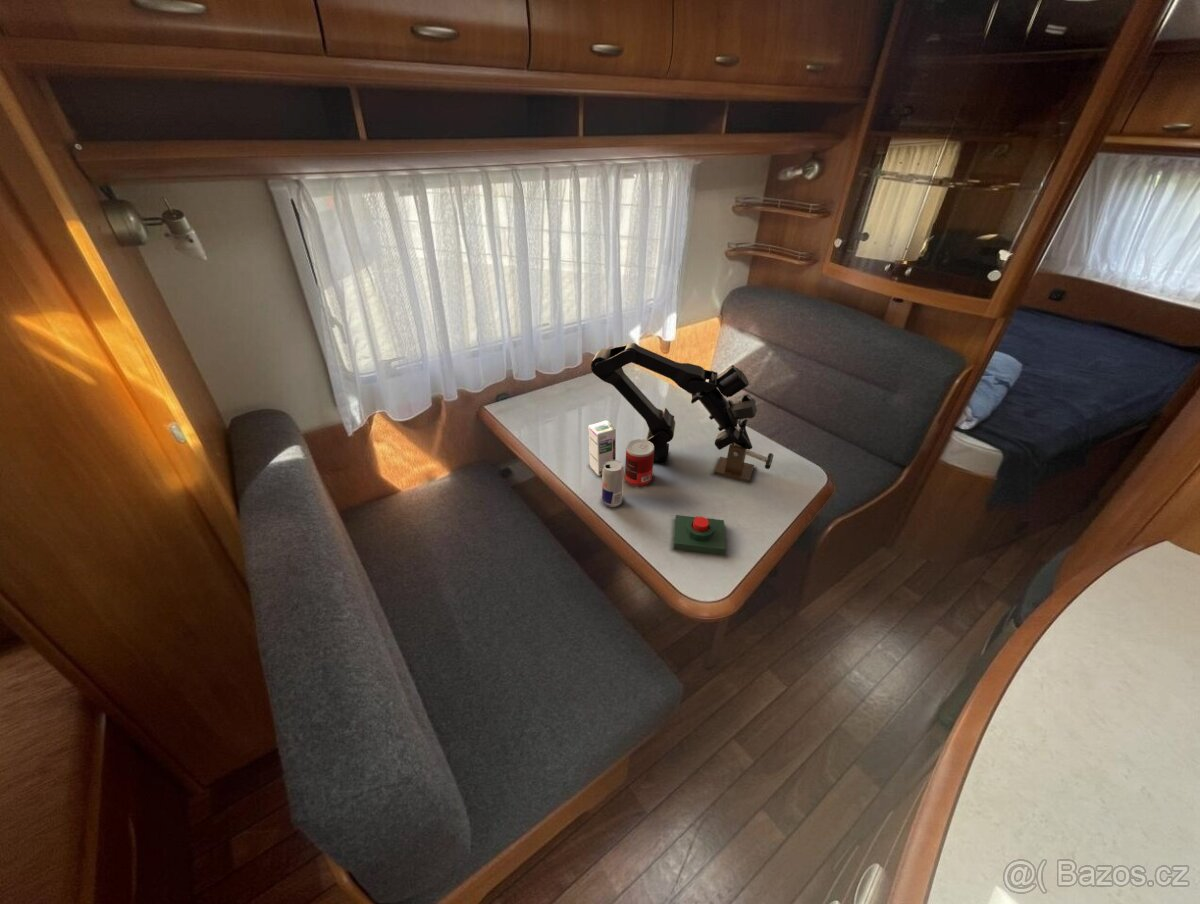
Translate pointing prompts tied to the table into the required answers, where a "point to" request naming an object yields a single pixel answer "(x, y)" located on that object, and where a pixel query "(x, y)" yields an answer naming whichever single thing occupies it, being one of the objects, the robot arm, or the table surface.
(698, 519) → the button
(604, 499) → the energy drink
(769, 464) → the lever
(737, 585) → the table surface
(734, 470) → the bracket
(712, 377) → the robot arm
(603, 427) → the syrup box
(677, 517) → the button box
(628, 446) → the canned food
